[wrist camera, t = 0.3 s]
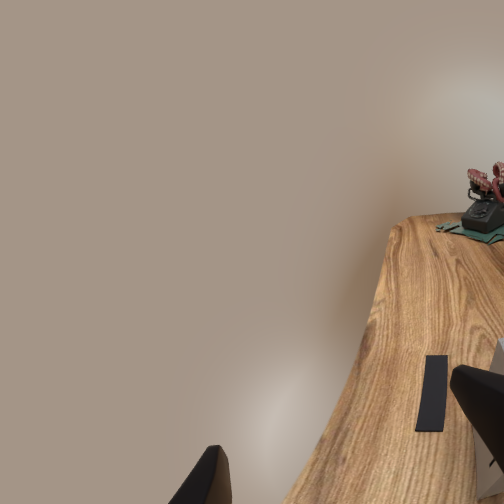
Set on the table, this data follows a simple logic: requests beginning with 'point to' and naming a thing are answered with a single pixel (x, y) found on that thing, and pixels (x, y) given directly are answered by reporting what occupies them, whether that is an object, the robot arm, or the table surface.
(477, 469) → the icon cube
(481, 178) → the telephone
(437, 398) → the felt mark
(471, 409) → the robot arm
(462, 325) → the table surface
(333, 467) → the table surface
